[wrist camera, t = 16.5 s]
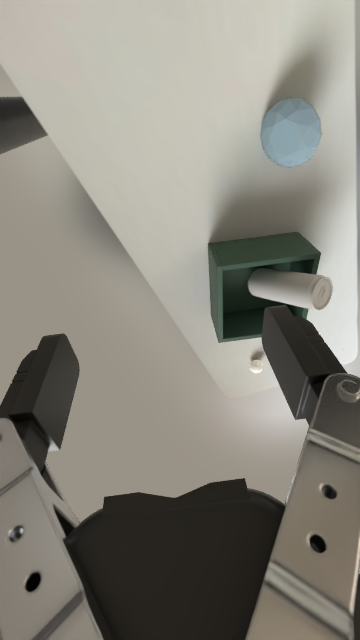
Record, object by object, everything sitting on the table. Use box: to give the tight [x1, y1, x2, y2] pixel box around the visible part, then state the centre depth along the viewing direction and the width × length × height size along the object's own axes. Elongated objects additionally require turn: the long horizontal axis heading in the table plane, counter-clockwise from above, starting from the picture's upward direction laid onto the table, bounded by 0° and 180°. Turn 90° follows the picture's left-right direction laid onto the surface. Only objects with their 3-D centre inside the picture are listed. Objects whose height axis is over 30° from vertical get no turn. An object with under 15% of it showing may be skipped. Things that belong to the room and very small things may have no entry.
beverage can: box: [248, 268, 333, 310], centre depth 43 cm, size 5×5×12 cm
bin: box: [208, 232, 321, 343], centre depth 47 cm, size 15×15×8 cm
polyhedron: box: [250, 360, 263, 373], centre depth 63 cm, size 3×3×3 cm
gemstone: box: [261, 97, 321, 168], centre depth 35 cm, size 8×8×5 cm
